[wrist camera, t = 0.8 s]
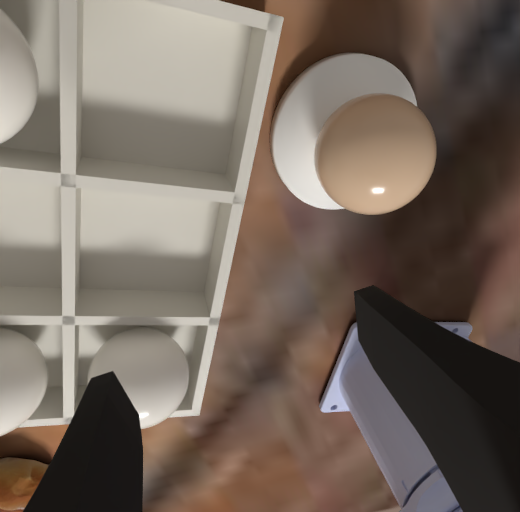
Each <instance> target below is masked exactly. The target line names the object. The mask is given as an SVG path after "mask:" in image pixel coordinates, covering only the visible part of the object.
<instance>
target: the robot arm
mask: <svg viewBox="0 0 520 512" xmlns="http://www.w3.org/2000/svg"><path fill="white" fill-rule="evenodd" d="M354 296H355V308H356V319H357V322H356V323H354V324H353V325H352V326H351V328H350V330H349V332H348V335H347V337H346V340H345V342H344V345H343V347H342V350H341V352H340V355H339V357H338V360H337V362H336V365H335V367H334V370H333V372H332V375H331V377H330V380H329V382H328V385H327V387H326V390H325V392H324V395H323V397H322V400H321V402H320V404H319V407H320V409H321V411H322V412H340V411H350V412H351V414H352V416H353V418H354V420H355V421H356V423H357V425H358V427H359V429H360V431H361V433H362V435H363V437H364V439H365V440H366V442H367V444H368V446H369V448H370V450H371V452H372V454H373V456H374V458H375V460H376V461H377V463H378V465H379V467H380V469H381V471H382V473H383V475H384V477H385V479H386V480H387V482H388V484H389V486H390V488H391V490H392V492H393V494H394V496H395V498H396V500H397V501H398V503H399V505H400V507H401V509H402V510H400V511H399V512H520V362H517V361H514V360H512V359H509V358H507V357H505V356H502V355H500V354H498V353H495V352H493V351H491V350H488V349H486V348H484V347H481V346H479V345H477V344H475V343H473V342H472V341H471V340H470V339H469V338H468V336H469V334H470V333H471V331H472V326H471V325H470V324H469V323H467V322H433V321H431V320H430V319H428V318H426V317H424V316H423V315H421V314H419V313H417V312H416V311H414V310H412V309H411V308H409V307H408V306H406V305H404V304H403V303H401V302H399V301H398V300H396V299H395V298H393V297H391V296H390V295H388V294H387V293H385V292H384V291H382V290H380V289H379V288H377V287H375V286H374V285H372V286H369V287H366V288H363V289H360V290H357V291H354ZM142 494H143V445H142V435H141V427H140V418H139V414H138V412H137V411H136V409H135V407H134V406H133V404H132V402H131V401H130V399H129V397H128V395H127V394H126V392H125V390H124V389H123V387H122V385H121V383H120V382H119V380H118V378H117V377H116V375H115V373H114V372H113V371H111V372H108V373H105V374H102V375H99V376H96V377H93V378H91V379H90V381H89V383H88V385H87V387H86V390H85V392H84V394H83V396H82V398H81V401H80V403H79V405H78V407H77V409H76V411H75V414H74V416H73V418H72V420H71V422H70V424H69V426H68V429H67V431H66V433H65V435H64V437H63V439H62V441H61V443H60V445H59V447H58V449H57V451H56V453H55V455H54V457H53V459H52V461H51V462H50V464H49V466H48V468H47V470H46V472H45V473H44V475H43V477H42V479H41V481H40V483H39V484H38V486H37V488H36V490H35V492H34V493H33V495H32V497H31V498H30V500H29V502H28V504H27V505H26V507H25V509H24V510H23V512H142Z"/></svg>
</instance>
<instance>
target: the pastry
mask: <svg viewBox="0 0 520 512" xmlns="http://www.w3.org/2000/svg"><path fill="white" fill-rule="evenodd" d="M48 466H49V465H47V464H44V463H41V462H38V461H35V460H29V459H21V458H11V457H7V458H2V459H0V512H23V510H24V509H25V507H26V505H27V504H28V502H29V500H30V498H31V497H32V495H33V493H34V492H35V490H36V488H37V486H38V484H39V483H40V481H41V479H42V477H43V475H44V473H45V472H46V470H47V468H48Z"/></svg>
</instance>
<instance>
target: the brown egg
mask: <svg viewBox="0 0 520 512" xmlns="http://www.w3.org/2000/svg"><path fill="white" fill-rule="evenodd" d="M436 151H437V145H436V139H435V135H434V131H433V128H432V126H431V124H430V122H429V121H428V119H427V118H426V116H425V114H424V113H423V112H422V111H421V110H420V109H419V108H418V107H417V106H415V105H414V104H413V103H411V102H410V101H408V100H406V99H404V98H402V97H399V96H396V95H392V94H386V93H371V94H366V95H362V96H359V97H356V98H353V99H351V100H349V101H347V102H346V103H344V104H343V105H341V106H340V107H339V108H338V109H336V110H335V111H334V112H333V113H332V114H331V115H330V116H329V118H328V119H327V120H326V122H325V123H324V125H323V126H322V128H321V130H320V132H319V135H318V138H317V141H316V145H315V150H314V165H315V171H316V174H317V177H318V180H319V182H320V184H321V186H322V188H323V189H324V191H325V192H326V193H327V195H328V196H329V197H330V198H331V199H332V200H333V201H334V202H336V203H337V204H338V205H340V206H341V207H343V208H345V209H347V210H349V211H352V212H355V213H360V214H366V215H376V214H384V213H388V212H391V211H394V210H397V209H399V208H401V207H403V206H405V205H406V204H408V203H409V202H410V201H412V200H413V199H414V198H415V197H416V196H417V195H418V194H419V193H420V192H421V191H422V190H423V188H424V187H425V186H426V184H427V182H428V181H429V179H430V177H431V175H432V172H433V169H434V166H435V162H436Z"/></svg>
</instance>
